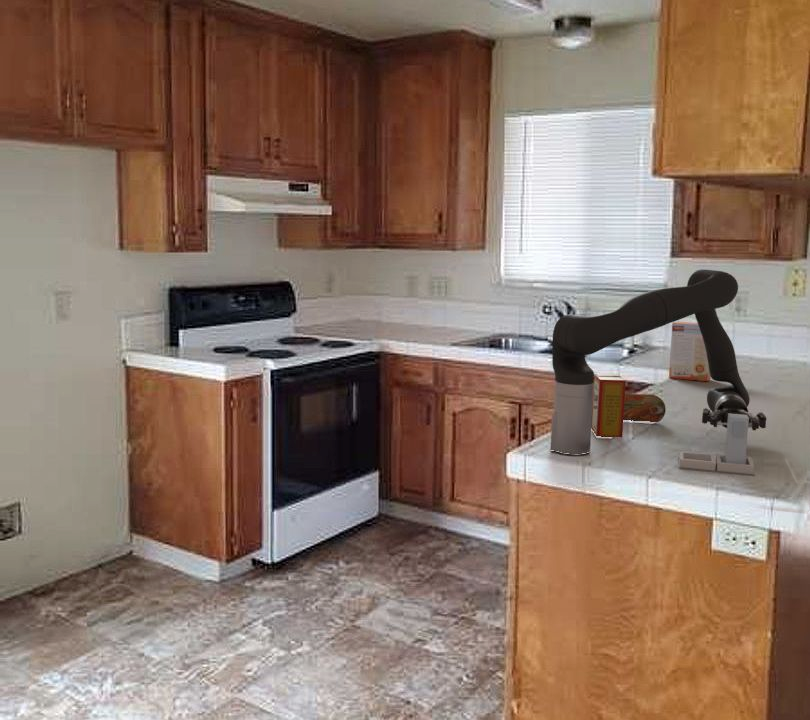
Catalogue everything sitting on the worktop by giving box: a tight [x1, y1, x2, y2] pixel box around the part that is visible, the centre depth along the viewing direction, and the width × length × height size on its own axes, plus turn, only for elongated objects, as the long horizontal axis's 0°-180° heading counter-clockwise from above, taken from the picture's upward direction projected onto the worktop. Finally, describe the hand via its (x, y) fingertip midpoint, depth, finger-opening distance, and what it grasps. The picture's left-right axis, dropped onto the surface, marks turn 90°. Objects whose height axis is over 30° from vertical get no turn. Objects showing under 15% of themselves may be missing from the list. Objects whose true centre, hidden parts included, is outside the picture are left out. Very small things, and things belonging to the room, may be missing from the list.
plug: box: [724, 413, 749, 464], centre depth 195 cm, size 4×5×12 cm
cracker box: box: [668, 321, 712, 382], centre depth 320 cm, size 14×6×21 cm, turn 59°
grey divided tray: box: [677, 451, 756, 477], centre depth 197 cm, size 16×11×3 cm
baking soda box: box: [591, 373, 627, 438], centre depth 229 cm, size 10×6×16 cm
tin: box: [623, 392, 667, 423], centre depth 246 cm, size 15×3×8 cm, turn 81°
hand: (735, 424), depth 202 cm, fingers open, 8 cm apart
